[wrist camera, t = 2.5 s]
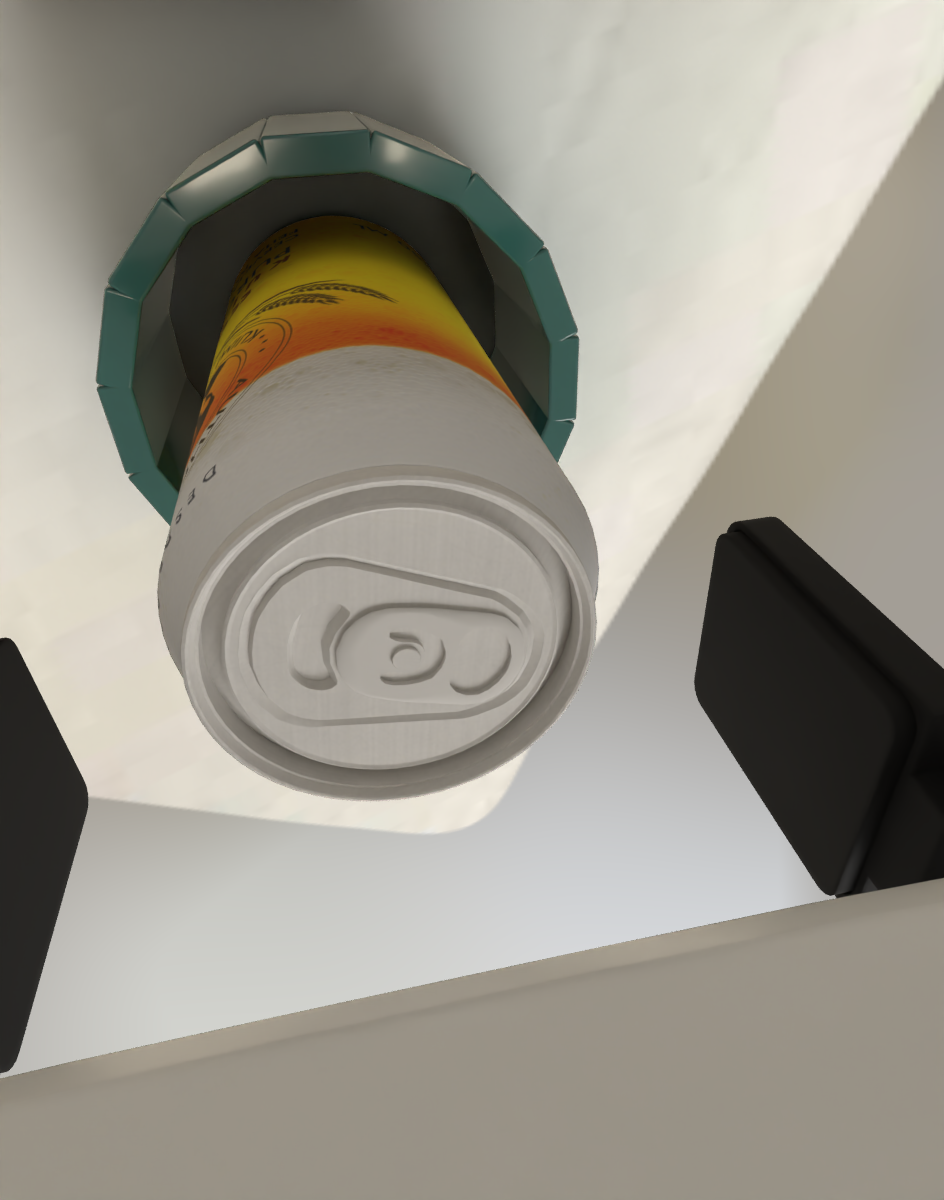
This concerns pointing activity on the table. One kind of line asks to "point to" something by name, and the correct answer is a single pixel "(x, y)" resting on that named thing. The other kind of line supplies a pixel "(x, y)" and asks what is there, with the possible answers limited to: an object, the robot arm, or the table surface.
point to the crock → (303, 149)
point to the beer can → (370, 533)
